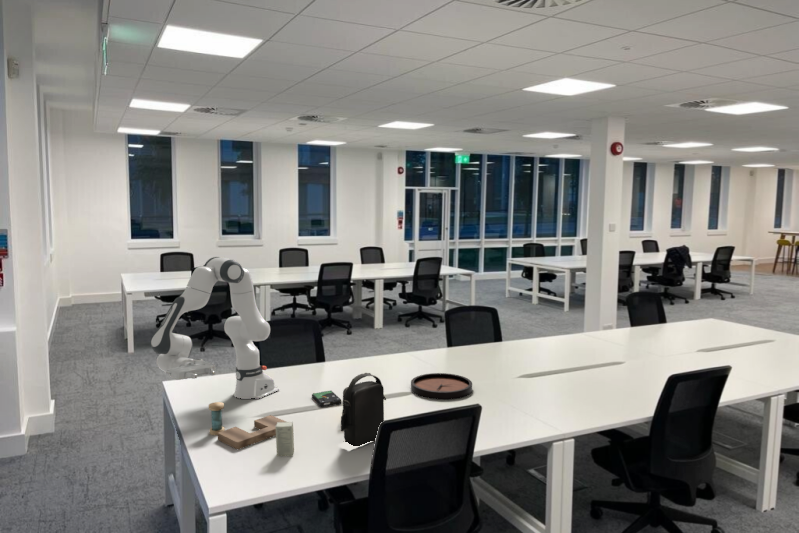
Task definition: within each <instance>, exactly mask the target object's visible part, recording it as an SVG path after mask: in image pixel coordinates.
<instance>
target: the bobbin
mask: <svg viewBox="0 0 799 533" xmlns="http://www.w3.org/2000/svg"><path fill="white" fill-rule="evenodd" d="M224 406H225V403H224V402H222V401H215V402H211V403H209V404H208V411H211V412H210V413H211V427H210V428H209V435H210V436H218V432H221V431H224V430H226V429H225V426H223V421H222V420H223V418H222V417H223V416H222V414H223V413H222V410H223V409H224V408H225V407H224Z"/></svg>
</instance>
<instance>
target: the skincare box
mask: <svg viewBox="0 0 799 533" xmlns="http://www.w3.org/2000/svg"><path fill="white" fill-rule="evenodd" d="M294 436H295V434H294V422H293V421H286V422H277V424H276V436H275V439H276V440H275V441H276V442H275V444H276V446H275V447H276V457H277V456H283V457H293V456H294V454H295V441H294V440H295V439H294V438H295V437H294Z"/></svg>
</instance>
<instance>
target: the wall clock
mask: <svg viewBox="0 0 799 533" xmlns="http://www.w3.org/2000/svg"><path fill="white" fill-rule="evenodd" d="M410 391H411V392H412V393H413V394H414V395H416V396H418V397H421V398H424V399H430V400H437V401H438V400H439V401H443V400H444V401H445V400H447V401H449V400H458V399H459V400H460V399H462V398H466V397H468V396H469V395H471V394H472V393H473V381H472V380H470V378H467V377H465V376H463V375H459V374H454V373H447V372H446V373H443V372H442V373H441V372H433V373H425V374H421V375H417V376H415V377H414V378H412V379H411V381H410Z"/></svg>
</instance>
